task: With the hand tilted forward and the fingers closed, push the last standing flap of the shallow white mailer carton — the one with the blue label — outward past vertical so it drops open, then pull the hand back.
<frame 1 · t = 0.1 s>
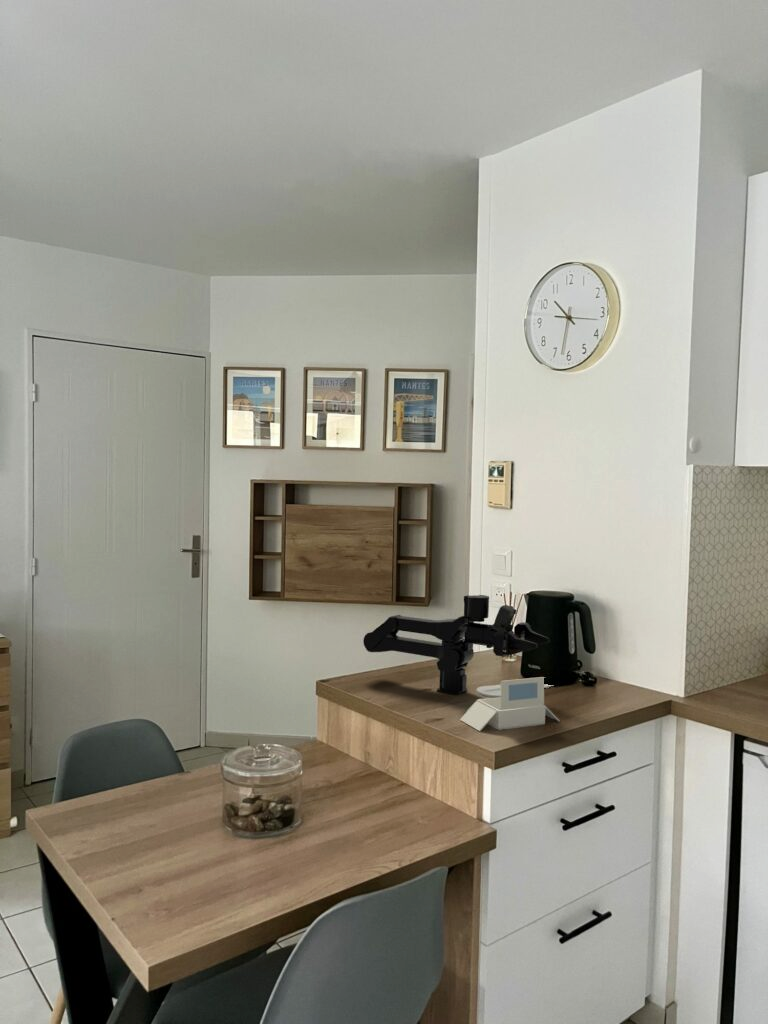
hand: (543, 643, 200), 17 cm above the table, tool horizontal, fingers open, 9 cm apart
carton: (510, 721, 188), on the table
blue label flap: (522, 692, 183), point 8 cm above the table, hinge at 86.0°
white pronged spatula: (518, 690, 219), on the table
near flap: (492, 703, 195), point 2 cm above the table, hinge at 219.6°
flap 2: (541, 708, 191), point 2 cm above the table, hinge at 222.4°
flap 1: (478, 715, 184), point 2 cm above the table, hinge at 222.4°
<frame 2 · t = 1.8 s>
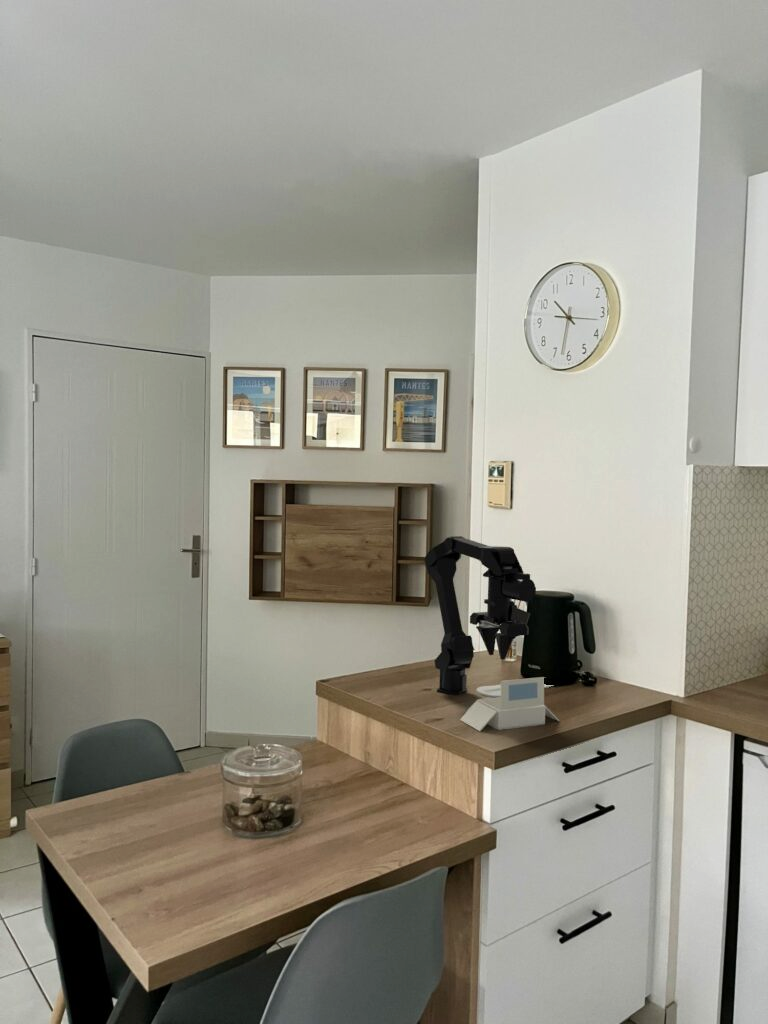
hand: (497, 657, 198), 13 cm above the table, tool pointing down, fingers open, 5 cm apart
flap 2: (541, 708, 191), point 2 cm above the table, hinge at 222.6°
flap 1: (478, 715, 184), point 2 cm above the table, hinge at 222.6°
everything else where it was.
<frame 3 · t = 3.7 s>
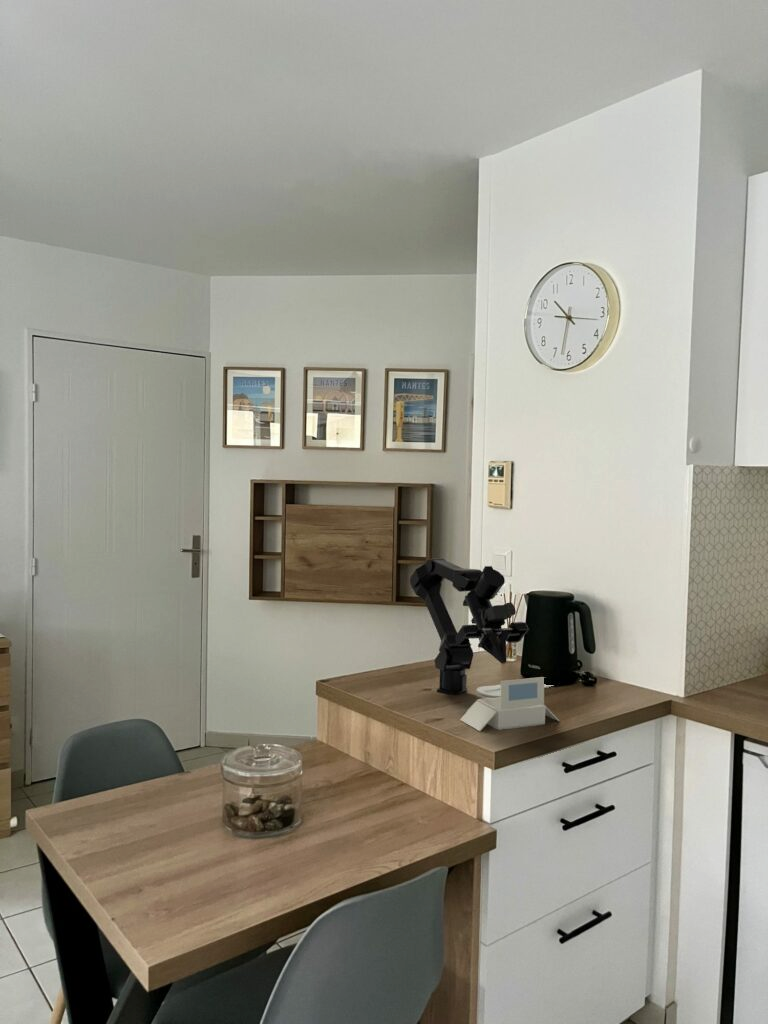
hand: (504, 662, 190), 13 cm above the table, tool tilted 45°, fingers closed
nothing on the table moved.
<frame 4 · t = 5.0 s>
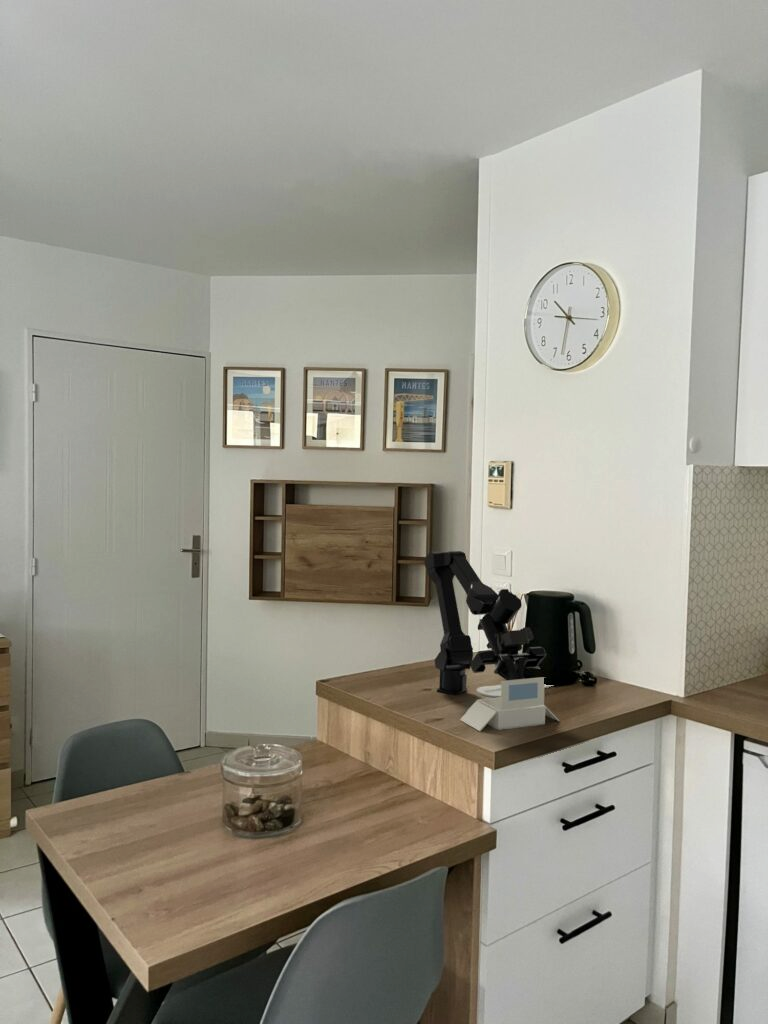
hand: (521, 690, 183), 9 cm above the table, tool tilted 45°, fingers closed, pressing on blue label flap
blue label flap: (523, 692, 183), point 8 cm above the table, hinge at 87.4°, touching gripper
everything else where it was.
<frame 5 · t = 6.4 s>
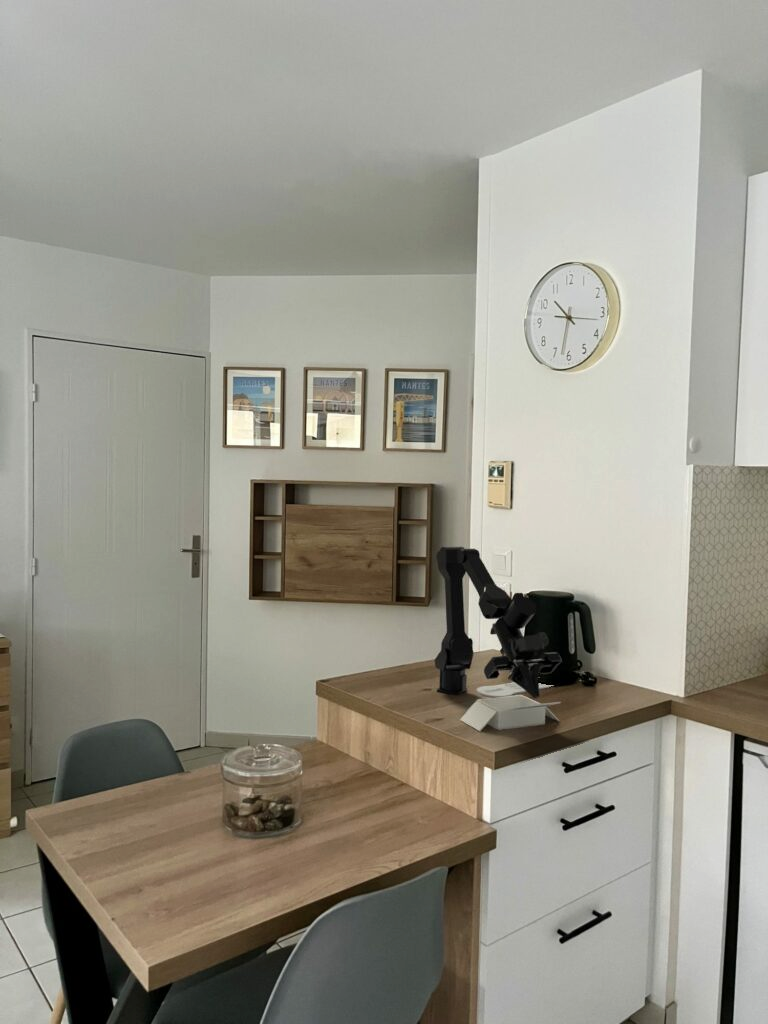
hand: (537, 697, 178), 9 cm above the table, tool tilted 45°, fingers closed
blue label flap: (531, 706, 180), point 6 cm above the table, hinge at 157.4°
everything else where it was.
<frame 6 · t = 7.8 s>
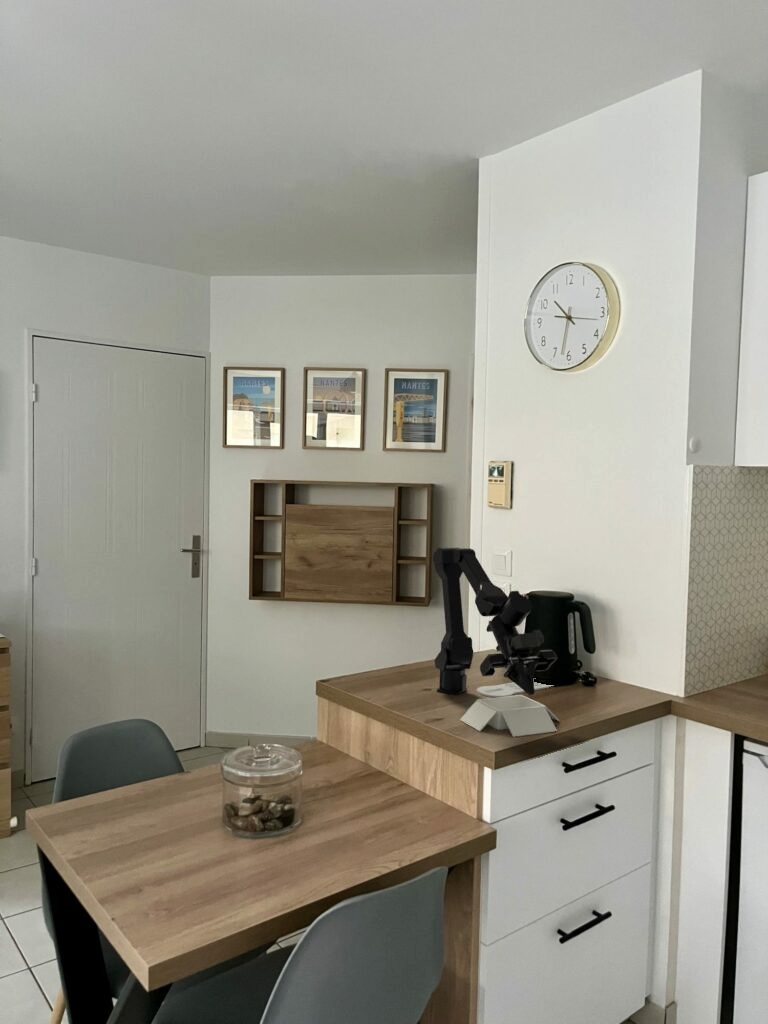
hand: (532, 694, 180), 9 cm above the table, tool tilted 45°, fingers closed
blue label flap: (529, 721, 181), point 2 cm above the table, hinge at 219.5°
everything else where it was.
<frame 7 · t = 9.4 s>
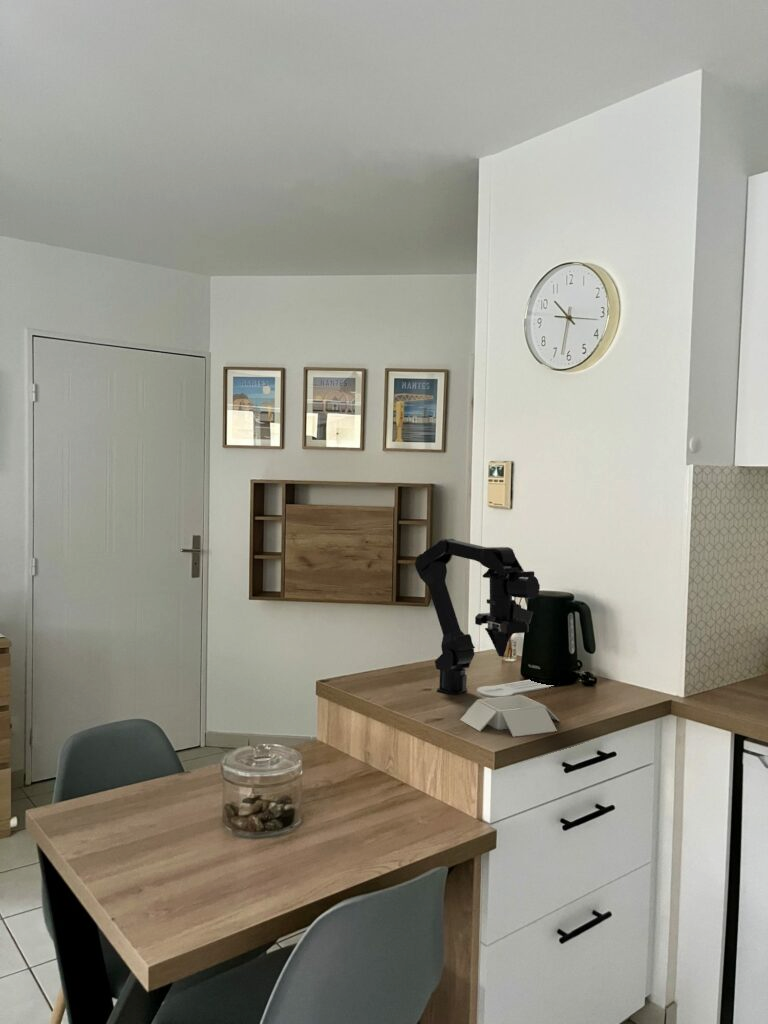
hand: (501, 656, 201), 13 cm above the table, tool pointing down, fingers closed
nothing on the table moved.
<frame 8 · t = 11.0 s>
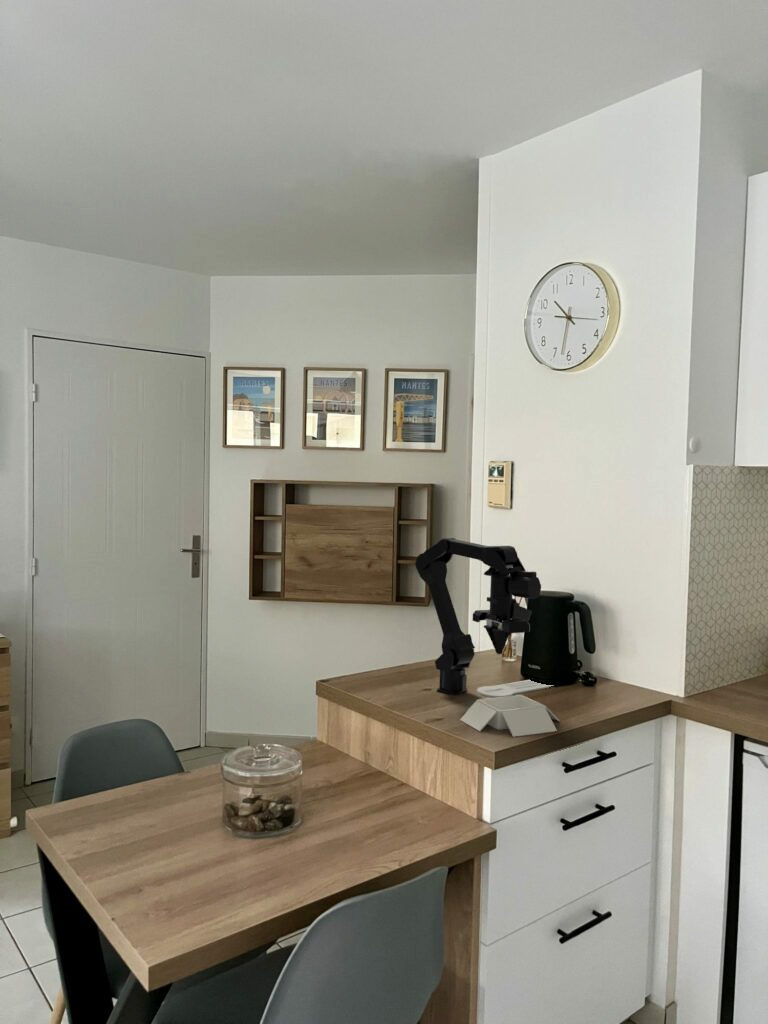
hand: (499, 654, 202), 13 cm above the table, tool pointing down, fingers closed
nothing on the table moved.
at the end: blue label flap at +220° (first picture: +86°); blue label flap touching table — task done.
